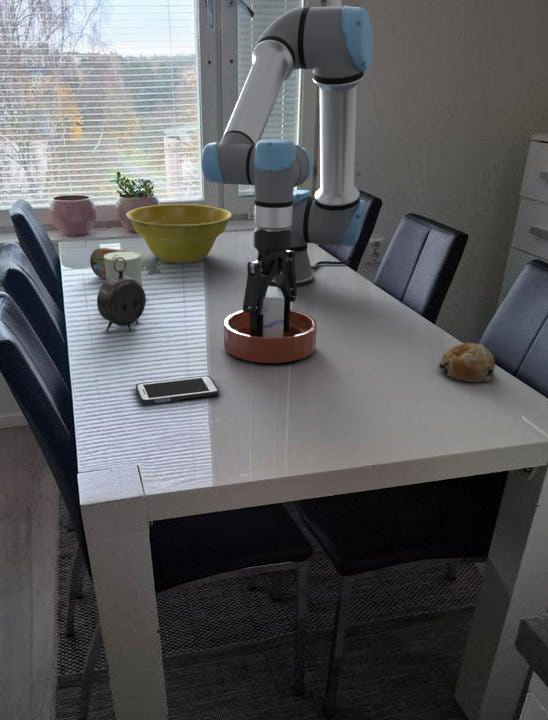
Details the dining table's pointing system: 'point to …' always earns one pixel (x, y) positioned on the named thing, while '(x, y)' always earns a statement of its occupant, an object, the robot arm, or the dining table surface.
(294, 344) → the bowl
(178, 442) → the dining table surface
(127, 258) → the can
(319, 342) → the dining table surface
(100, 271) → the tin
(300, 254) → the robot arm
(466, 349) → the bread roll
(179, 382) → the cell phone
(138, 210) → the planter bowl
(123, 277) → the alarm clock
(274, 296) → the ink box
